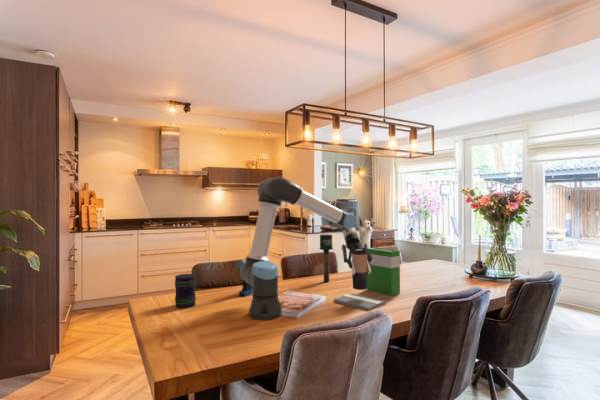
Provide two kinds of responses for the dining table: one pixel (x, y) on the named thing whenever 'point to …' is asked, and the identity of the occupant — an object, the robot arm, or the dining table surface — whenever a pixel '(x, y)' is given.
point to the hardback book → (384, 271)
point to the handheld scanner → (246, 287)
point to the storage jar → (185, 291)
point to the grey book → (360, 301)
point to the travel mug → (359, 268)
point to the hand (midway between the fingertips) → (362, 272)
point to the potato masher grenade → (326, 252)
